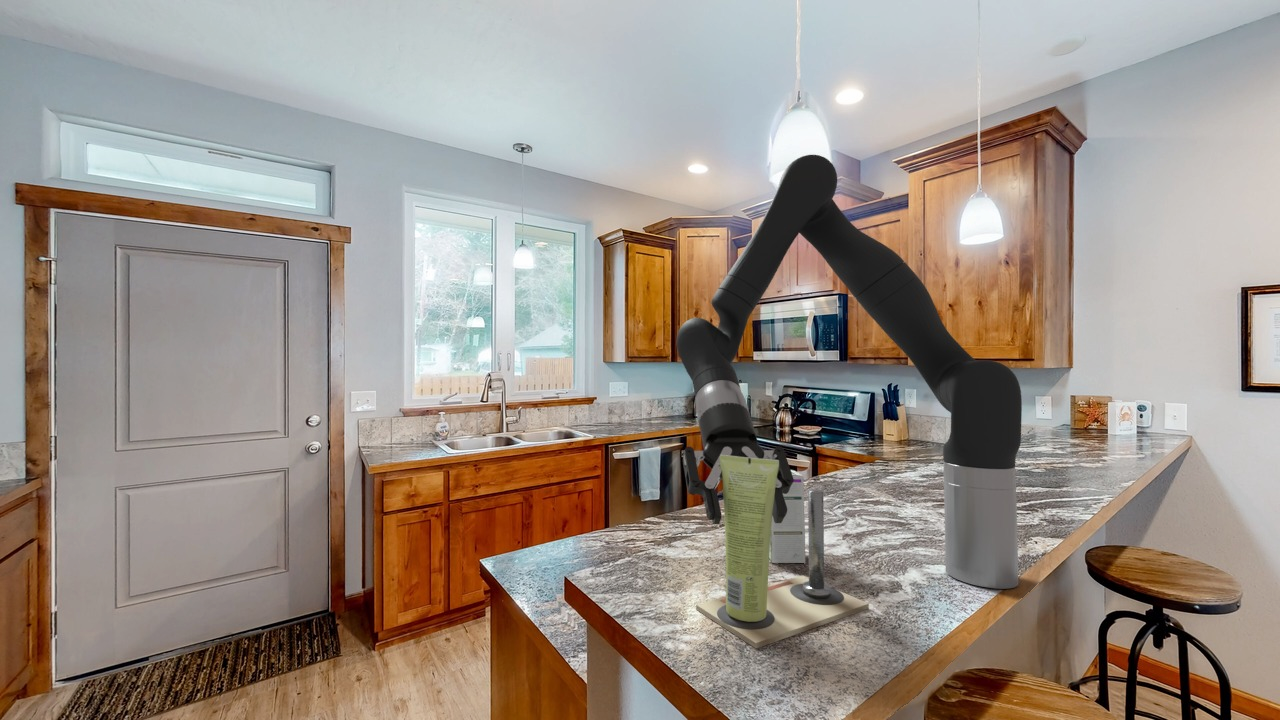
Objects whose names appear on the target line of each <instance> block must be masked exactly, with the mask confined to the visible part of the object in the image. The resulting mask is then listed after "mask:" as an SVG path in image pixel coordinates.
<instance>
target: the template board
mask: <svg viewBox="0 0 1280 720" xmlns="http://www.w3.org/2000/svg"><path fill="white" fill-rule="evenodd" d="M807 581H809V576H804V575H798V576H796V577H792V578H789V579H785V580H780V581H778V582H774V583H770V584H768V590H767V612H766V617H765V619H763V620H761V621H757V622H746V621H741V620H738V619H735V618H733V617H731V616H730V615H729V614H728V613H727V611H726V596H723V597H719V598H716V599H712V600H708V601H704V602H701V603H697V604H695V609H696V611H698V612H700V613H701V614H703V615H704V616H705V617H707V618H708V619H710V620H712V621H713V622H715V623H716V624H718V625H719V626H721V627H722V628H724V629H726V630H727V631H729V632H730V633H732V634H733V635H734V636H736V637H737V638H739V639H740V640H742V641H744V642H745V643H747V644H749V646H751V647H753V648H754V649H758V648H762V647H764V646H767V645H770V644H773V643H776V642H778V641H779V642H780V641H781V640H783V639H787V638H789V637H792V636H796V635H798V634H801V633H804V632H806V631H810V630H812V629H815V628H817V627H820V626H823V625H826V624H829V623H831V622H834V621H837V620H840V619H843V618H846V617H849V616H851V615H853V614H857V613H859V612H862V611H864V610H865V611H866V610H868V609H869V608H870V606H869V602H866V601H863V600H861V599H859V598H856V597H854V596H852V595H849V594H847V593H845V592H843V591H840V590H837V589H835V588H834V587H832V586H830V588H831V596H830V598H828V599H814V598H810V597H808V596H806V595H805V594H804V593H803V583H804V582H807Z"/></svg>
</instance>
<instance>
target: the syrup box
mask: <svg viewBox="0 0 1280 720" xmlns="http://www.w3.org/2000/svg"><path fill="white" fill-rule="evenodd" d="M790 470H791V473H792V476H793V479H794V482H793V484H792V485H791V487H790V490H789V492H788V493H787V494H784V493H783V497H784V500H785V503H786V506H787V514H786V516H785V517H784V519H783V521H782V523H775V522H774V519H773V515H772V525H771V538H770V553H769V562H771V564H778V563H804V564H803V565H805V564H806V532H805V531H806V527H805V526H806V524H805V520H806V519H805V496H804V495H805V491H804V490H805V488H804V486H805V485H804V484H805V483H804V475H802V474H801V473H799V472H798V471H796V470H794V469H790Z"/></svg>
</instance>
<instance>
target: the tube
mask: <svg viewBox="0 0 1280 720" xmlns="http://www.w3.org/2000/svg"><path fill="white" fill-rule="evenodd" d="M720 464H721V469H722V478H721V480H722V481H721V482H722V493H723V513H724V514H723V515H724V533H725V536H724V537H725V539H724V541H725V583H726V584H725V595H726V596H725V597H726V611H727V613H728V614H729V615H730V616H731V617H733V618H735V619H738V620H741V621H746V622H757V621H761V620H763V619H765V617H766V612H767V590H768V585H769V569H770V568H769V567H770V566H769V565H770V559H769V553H770V538H771V525H772V514H773V504H774V494H775V485H776V478H777V472H778V468H779V460H770V459H758V458H748V457H738V456H728V455H720Z"/></svg>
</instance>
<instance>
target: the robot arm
mask: <svg viewBox="0 0 1280 720" xmlns="http://www.w3.org/2000/svg"><path fill="white" fill-rule="evenodd" d="M837 186H838V174H837V170H836V167H835V166H834V165H833V163H832V162H831V161H830V160H829V159H828V158H826V157H824V156H822V155H818V154H806V155H802V156H800V157H798V158H797V159H794V160H793V161H792V162H791V163H790V164H788V166H787V167H786V168H785V169H784V171H783V173H782V175H781V176H780V179H779V184H778V187H777V190H776V191H775V194H774V196H773V198H772V201H771V202H770V203H771V204H770V206H769V207H768V209H767V211H766V213H765V215H764V217H763V219H762V220H761V222H760V223H759V225H758V227H757V229H756V230H755V232H754V234H753V235H752V237H751V238H750V240H749V241H748V243H747V244H746V246H745V247H744V249H743V251H742V252H741V253H740V254H739V256H738V258H737V259H736V261H735V263H734V264H733V265H732V266H731V268H730V269H729V271H728V273H727V274H726V276H724V277H725V278H724V279H723V281H722V282H721V284H720V285H719V287H718V288H717V290H716V292H715V293H714V294H713V297H712V298H711V302H710V303H711V306H712V308H713V310H714V311H715V312H716V314H717V315H718V318H719V323H718V325H717V326H718V327H717V326H716V325H714V324H713V323H712V322H710V321H708V320H707V319H705V318H701V317H692V318H689V319H688V320H686V321H685V322H684V323H682V325H681V327H680V328H679V329H678V331H677V335H676V342H675V343H676V350H677V353H678V356H679V359H680V361H681V362H682V365H683V367H684V370H686V373H687V375H688V376H689V378H690V379H691V381H692V387H693V392H694V399H695V403H696V404H695V408H696V409H695V410H696V420H697V423H698V425H699V431H700V437H701V440H702V446H703V447H702V448H703V450H694V447H692V446H686V447H685V448H684V452H683V458H682V465H683V471H684V477H685V483H686V489H687V493H688V494H689V495H691V496H694V495H699V496H701V497H702V498H703V502H704V503H703V504H704V508H705V513H706V514H705V515H706V517H707V519H708V520H710V521H712V524H713V525H720V523H721V520H722V511H721V506H720V501H719V495H718V490H717V487H718V485H719V483H720V481H721V480H722V469H721V464H720V455H728V456H738V457H748V458H758V459H770V460H779V468H778V472H777V478H776V485H775V494H774V504H773V514H772V515H773V519H774V522H775V523H782V521H783V519H784V517H785V516H786V514H787V506H786V503H785V500H784V497H783V493H784V494H787V493H788V492H789V490H790V487H791V485H792V484H793V482H794V479H793V476H792V473H791V470H792V469H791V467H790V464H789V462H788V458H787V455H786V452H785V450H784V448H783V447H782V446H775V448H774V449H773V450H772V449H771V450H770V449H768V450H767V449H766V450H765V449H763V447H761V445H760V444H759V443H758V437H757V433H756V431H755V427H754V423H753V421H752V417H751V413H750V410H749V407H748V403H747V401H746V398H745V395H744V394H743V392H742V389H741V386H740V383H739V379H738V376H737V373H736V370H735V368H734V367H733V366H732V363H733V361H734V360H735V358H736V356H737V355H738V351H739V350H740V345H741V344H742V343H741V342H742V339H743V336H744V334H745V330H746V327H747V324H748V321H749V317H750V316H751V314H752V313H753V312H754V310H755V308H756V307H757V305H758V304H759V302H760V300H761V299H762V297H763V296H764V294H765V293H766V291H767V290H768V287H769V286H770V284H771V283H772V281H773V279H774V277H775V275H776V273H777V271H778V270H779V267H780V265H781V264H782V262H783V261H784V259H785V256H786V254H787V253H788V251H789V249H790V248H791V246H792V245H793V243H794V242H795V239H796V238H797V236H799V234H800V235H801V236H802V237H803V238H804V239H805V240H806V241H807V242H808V243H810V245H811V246H812V247H813V248H815V250H816V251H817V252H818V253H819V254H820V255H821V257H823V259H824V260H825V262H826V263H827V264H828V266H829V267H830V268H831V270H832V271H833V272H834V273H835V275H836V276H837V277H838V279H840V281H841V282H842V283H843V284H844V286H845V287H846V288H847V289H848V291H849V292H850V293H851V294H852V296H853V297H854V298H855V300H856V301H857V302H858V303H859V304H860V306H861V307H862V308H863V310H865V312H866V313H867V314H868V315H869V316H870V317H871V318H872V320H873V321H875V323H876V324H877V325H878V326H879V327H880V329H882V332H884V333H885V334H886V335H887V336H888V337H889V338H890V339H891V341H893V343H894V344H895V345H896V346H897V347H898V348H899V349H900V350H902V352H903V353H904V354H905V355H906V356H907V357H908V359H909V360H910V361H911V363H913V366H914V367H915V368H916V369H917V371H918V372H919V374H920V376H921V377H922V378H923V380H924V381H925V383H926V384H927V386H928V387H929V389H930V390H931V392H932V393H933V395H934V396H935V398H936V399H937V401H938V402H939V403H940V405H941V406H942V407H943V408H944V409H945V410H946V411H948V412H949V413H950V434H949V436H948V437H949V438H948V439H947V441H946V442H945V443H944V444H943V450H942V452H943V453H942V454H943V455H942V457H943V460H942V461H943V495H944V496H943V497H944V498H943V499H944V500H943V501H944V502H943V503H944V504H943V505H944V549H945V550H944V551H945V552H944V556H945V559H944V560H945V563H944V564H945V572H946V574H947V575H949V576H950V577H951V578H954V579H956V580H959V581H961V582H964V583H966V584H969V585H970V584H971V585H974V586H978V587H984V588H990V589H999V590H1001V589H1002V590H1005V589H1013V588H1016V587H1018V586H1019V550H1018V549H1019V548H1018V514H1017V513H1018V510H1017V480H1016V479H1017V477H1016V474H1017V473H1016V456H1017V454H1018V453H1019V450H1020V447H1021V443H1022V412H1023V411H1022V408H1023V407H1022V405H1023V403H1022V390H1021V385H1020V383H1019V380H1018V378H1017V375H1016V374H1015V373H1014V371H1012V370H1011V369H1010V368H1009V367H1008V366H1007V365H1005V364H1003V363H1001V362H998V361H994V360H990V359H979V360H978V359H977V360H976V359H975V358H974V357H972V356H971V354H969V353H968V352H967V351H966V349H964V348H963V347H962V345H960V344H959V342H957V341H956V339H955V338H954V337H953V336H952V334H951V333H950V332H949V331H948V329H947V328H946V326H945V325H944V322H943V321H942V319H941V317H940V315H939V312H938V310H937V307H936V305H935V303H934V301H933V298H932V297H931V294H930V293H929V291H928V289H927V287H926V286H925V284H924V283H923V282H922V280H921V279H920V277H919V276H918V275H917V274H916V273H915V272H914V270H913V269H912V268H911V267H910V266H909V265H908V264H907V263H906V261H905V260H904V259H903V258H902V257H901V256H900V255H899V254H898V253H896V252H895V251H894V250H893V249H891V248H890V247H888V246H887V245H885V244H884V243H882V242H880V241H878V240H877V239H875V238H873V237H871V236H870V235H868V234H866V233H864V232H862V230H860V229H858V228H857V227H856V226H855V225H854V224H853V223H852V222H851V221H850V220H849V219H848V218H847V217H846V216H845V214H844V213H843V211H842V210H841V209H840V207H839V206H838V205H837V204H836V202H835V200H834V196H835V194H836V191H837V188H838V187H837ZM701 461H703V463H704V464H705V465H706V466H707V467H708V468H710V469H711V471H710V472H709V475H708V477H707V478H706V480H705V481H704V480H700V476H699V471H698V467H699V465H700V462H701Z"/></svg>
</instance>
